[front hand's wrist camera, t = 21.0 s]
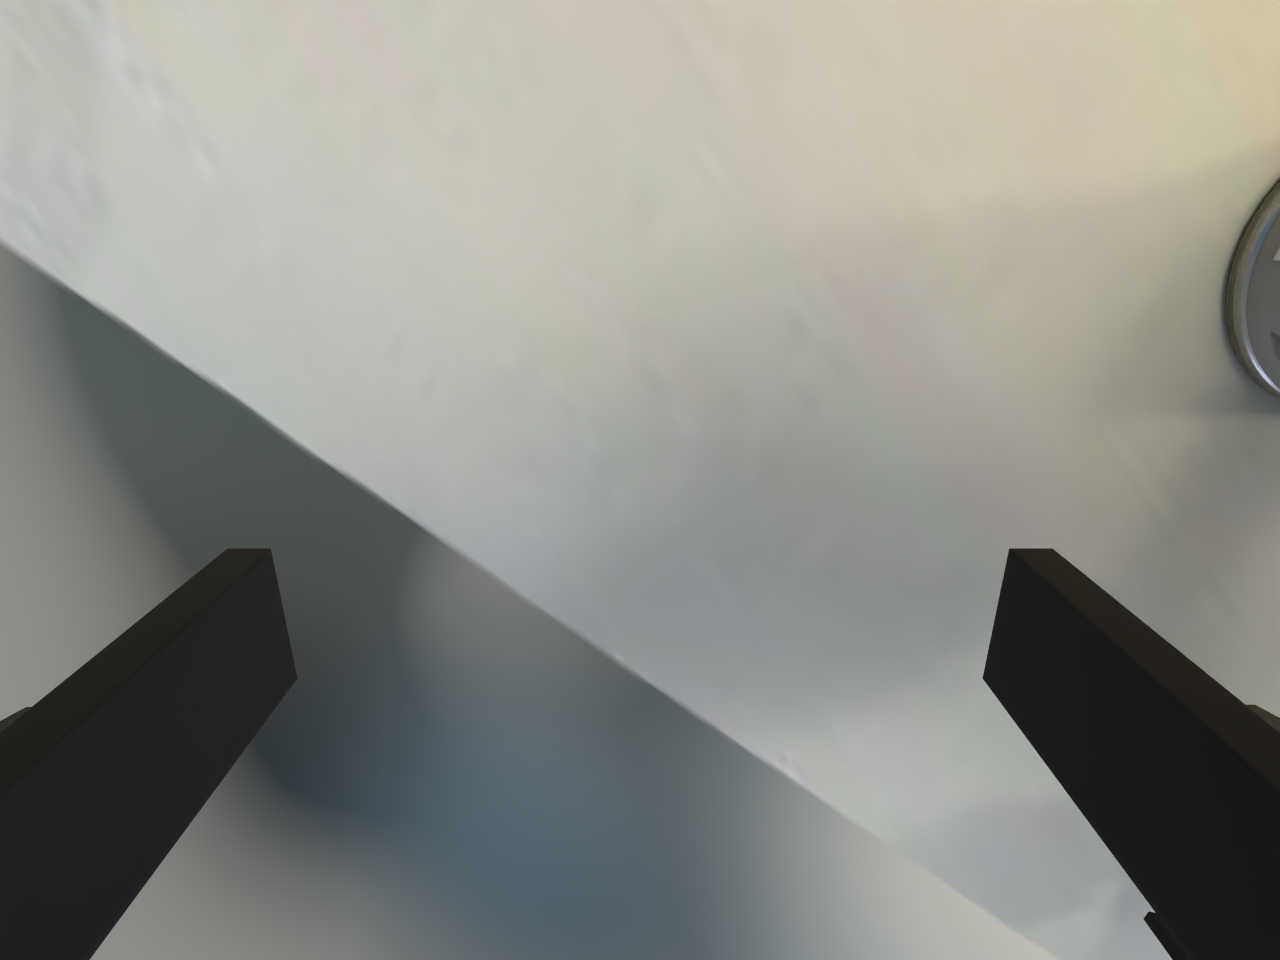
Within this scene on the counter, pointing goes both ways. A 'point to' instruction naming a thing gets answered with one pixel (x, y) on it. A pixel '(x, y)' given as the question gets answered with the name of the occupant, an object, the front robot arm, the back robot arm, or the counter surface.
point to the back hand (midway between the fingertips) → (1204, 864)
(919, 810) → the counter surface
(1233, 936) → the front robot arm
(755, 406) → the counter surface
